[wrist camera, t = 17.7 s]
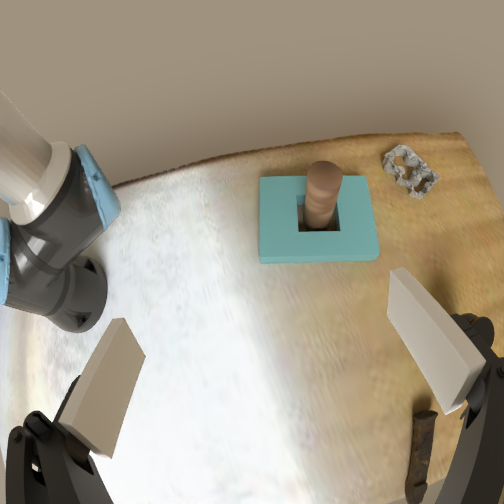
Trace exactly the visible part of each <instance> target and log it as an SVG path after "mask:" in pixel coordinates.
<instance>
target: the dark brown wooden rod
mask: <svg viewBox="0 0 504 504" xmlns="http://www.w3.org/2000/svg"><path fill="white" fill-rule="evenodd" d="M437 416H438V413H437V412H435V411H432V410H431V411H425V412H420V413H417V414H415V415H413V419H414V420H415V421H414V423H413V428H414V436H413V448H412V452H411V463H410V470H409V475H408V479H407V480H406V483H405V494H406V500H407V503H408V504H419V503H421V502H422V500H423V497H424V494H425V492H426V490H427V485H428V484H427V483H426V479H427V471H428V467H429V462H430V457H431V451H432V443H433V435H434V426H435V419H436V417H437Z"/></svg>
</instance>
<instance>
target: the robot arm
mask: <svg viewBox="0 0 504 504" xmlns="http://www.w3.org/2000/svg"><path fill="white" fill-rule="evenodd" d="M0 198H1V199H3V200H4V201H6V202H7V203H8V204H9V209H10V216H11V220H10V221H9V220H8V219H7V218H6V217H0V304H1V305H5V306H9V307H12V308H16V309H19V310H23V311H26V312H30V313H34V314H38V315H42V316H45V317H46V318H48V319H49V320H50V321H52V322H53V323H54V324H56V325H57V326H58V327H60V328H61V329H63V330H65V331H68V332H73V333H82V332H85V331H87V330H89V329H90V328H92V327H93V326H94V325H95V324H96V322H97V321H98V320H99V318H100V316H101V314H102V312H103V309H104V306H105V303H106V297H107V283H106V277H105V274H104V272H103V269H102V268H101V266H100V265H99V264H98V263H97V262H96V261H95V260H93V259H91V258H90V257H88V256H85V255H82V254H80V253H81V252H83V251H84V250H85V249H86V248H87V247H88V246H89V245H90V244H91V243H92V242H93V241H94V240H95V239H96V238H97V237H98V236H99V235H101V234H102V233H103V232H104V231H106V229H107V227H108V226H109V225H110V224H111V223H112V222H113V221H114V220H115V219H116V218H117V217H118V215H119V213H120V210H121V204H120V201H119V199H118V197H117V196H116V194H115V192H114V190H113V189H112V187H111V185H110V184H109V182H108V181H107V179H106V177H105V176H104V174H103V172H102V171H101V169H100V167H99V166H98V164H97V162H96V161H95V159H94V158H93V156H92V154H91V153H90V151H89V150H88V148H87V147H86V145H83V144H82V145H80V146H78V147H75V149H74V151H73V150H72V149H71V148H70V147H69V145H67V144H66V143H65V142H61V141H59V142H54V143H48V142H47V141H46V140H45V139H44V137H43V136H42V135H41V134H40V133H39V132H38V131H37V130H36V129H35V128H34V127H33V126H32V125H31V123H30V122H29V121H28V120H27V119H26V118H25V117H24V116H23V115H22V113H21V112H20V111H19V110H18V109H17V108H16V107H15V105H14V104H13V103H12V102H11V101H10V100H9V99H8V97H7V96H6V95H5V94H4V93H3V91H2V90H1V89H0ZM387 317H388V318H389V320H390V321H391V323H392V325H393V326H394V328H395V329H396V331H397V332H398V334H399V336H400V337H401V339H402V340H403V342H404V344H405V345H406V347H407V348H408V350H409V352H410V353H411V355H412V357H413V358H414V360H415V362H416V363H417V365H418V367H419V368H420V370H421V372H422V374H423V375H424V377H425V379H426V381H427V382H428V384H429V386H430V388H431V390H432V391H433V393H434V395H435V397H436V399H437V401H438V403H439V404H440V406H441V408H442V410H443V412H444V414H445V415H447V414H449V413H450V412H452V411H454V410H456V409H458V408H460V407H461V405H462V404H463V402H464V400H465V399H466V400H467V402H468V406H467V407H466V409H465V410H464V412H463V413H462V415H461V417H460V419H462V418H463V417H464V416H465V418H464V422H463V426H462V430H461V434H460V437H459V441H458V444H457V448H456V451H455V454H454V457H453V460H452V463H451V466H450V469H449V471H448V474H447V477H446V479H445V482H444V484H443V487H442V490H441V491H440V494H439V496H438V498H437V500H436V503H435V504H498V502H499V499H500V496H501V493H502V489H503V486H504V357H503V358H499V357H498V356H497V355H496V354H495V353H494V352H493V350H492V349H491V348H490V347H489V345H488V344H487V343H486V342H485V341H484V339H483V338H482V337H481V336H480V335H478V332H477V331H476V330H475V329H474V328H473V326H472V325H471V324H470V323H469V322H468V321H467V320H466V319H465V318H464V317H462V316H460V315H458V314H457V313H455V314H453V315H451V316H449V314H448V313H447V312H446V311H445V310H444V309H443V308H442V307H441V305H440V304H439V303H438V302H437V301H436V300H435V299H434V298H433V297H432V296H431V294H430V293H429V292H428V291H427V290H426V289H425V288H424V287H423V286H422V285H421V284H420V283H419V282H418V281H417V280H416V279H415V278H414V277H413V276H412V275H411V274H410V273H409V272H408V271H407V270H406V269H405V267H402V268H398V269H394V270H391V271H390V287H389V299H388V310H387ZM145 357H146V356H145V354H144V353H143V351H142V349H141V348H140V346H139V344H138V342H137V341H136V339H135V337H134V335H133V333H132V331H131V330H130V328H129V326H128V324H127V322H126V320H125V318H117V319H112V321H111V322H110V324H109V326H108V327H107V329H106V331H105V333H104V334H103V336H102V338H101V339H100V341H99V343H98V345H97V346H96V348H95V350H94V352H93V354H92V355H91V357H90V359H89V361H88V363H87V365H86V366H85V368H84V370H83V372H82V374H81V375H79V376H78V377H77V378H76V379H75V380H74V381H73V382H72V384H71V386H70V388H69V390H68V393H67V394H66V396H65V399H64V400H63V402H62V404H61V406H60V408H59V410H58V412H57V414H56V416H55V418H54V421H53V422H51V421H50V420H49V419H48V418H47V417H46V416H45V415H44V414H43V413H42V412H40V411H33V412H31V413H30V414H28V416H27V417H26V418H25V420H24V423H23V427H22V426H17V427H15V428H13V429H12V430H11V432H10V434H9V438H8V447H7V459H6V504H114V503H113V501H112V500H111V498H110V496H109V494H108V492H107V490H106V488H105V486H104V484H103V481H102V479H101V477H100V475H99V473H98V470H97V468H96V466H95V463H94V461H93V459H92V457H91V456H90V455H89V452H90V450H91V451H92V452H94V453H95V454H96V455H97V456H100V457H104V458H109V459H112V456H113V453H114V449H115V446H116V442H117V439H118V436H119V433H120V429H121V426H122V423H123V420H124V417H125V414H126V411H127V408H128V405H129V402H130V399H131V396H132V393H133V390H134V387H135V384H136V381H137V379H138V376H139V373H140V370H141V367H142V365H143V362H144V359H145ZM32 463H33V464H34V465H35V466H37V467H38V472H37V471H35V470H34V469H32ZM503 504H504V502H503Z"/></svg>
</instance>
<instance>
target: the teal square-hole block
mask: <svg viewBox="0 0 504 504" xmlns="http://www.w3.org/2000/svg"><path fill="white" fill-rule="evenodd" d="M306 183H307V176H273V177H260V218H259V259H260V262H261V264H264V263H308V262H345V261H374V260H375V259H376V258H377V257H378V256H379V255H380V251H379V244H378V238H377V231H376V225H375V220H374V214H373V209H372V204H371V199H370V194H369V189H368V184H367V180H366V176H345V175H343V179H342V183H341V187H340V190H339V194H338V198H337V201H336V205H335V208H334V212H335V221H336V230H337V231H318V232H298V215H297V204H305V195H306Z"/></svg>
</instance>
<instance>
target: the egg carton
mask: <svg viewBox="0 0 504 504" xmlns="http://www.w3.org/2000/svg"><path fill="white" fill-rule="evenodd" d="M383 156H385V158H384V160H383V163H382V165H383V166H384V172H385V173H387V174H389V173H391V174H393V175H395V177H396V179H397V181H396V183H397V184H399V185H400V186H401V185H404V186H406V187H407V188H408V189H409V191H410V193H409V195H410V196H411V197H412V198H418V199H421V198H422V197H423V196H424V195H425V194H426V193H427V191H429V190H430V189H431V187H432V186H433V185H434V183H436V181H437V180H438V178H439V175H438V174H436V173H435V172H434V171H432V170H431V169H430V168H429V166H428V167H427V165H426V162H424V161H423V160H422V159H421V158H420V157H419V156H417V155H416V154H415V153H414V152H413V151H412V149H411V148H410V147H408V146H406V145H398V146H396V147H395V148H394V149H392V150H391V151H390V152H389V153H388V152H387V153H386V154H384V155H383ZM395 156H402V157H403V158H404V163H405V164H406V165H407V166H409V167H415V168H416V169H417V170H416V169H415V170H413V171H412V173H411V174H410V176H409V178H408V180H406V179H404V180H403V178H402V175H404V174H405V172H406V171H405V169H404V167H403V166H400V165H395V164H394V162H393V160H394V158H395ZM422 178H426V179H427V180H428V181H429V182H426V183H425V185H424V186H423V188H422V189H421V191H418V192H416V191H414V187H416V186H418V184H419V183H420V181H421V180H422Z"/></svg>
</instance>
